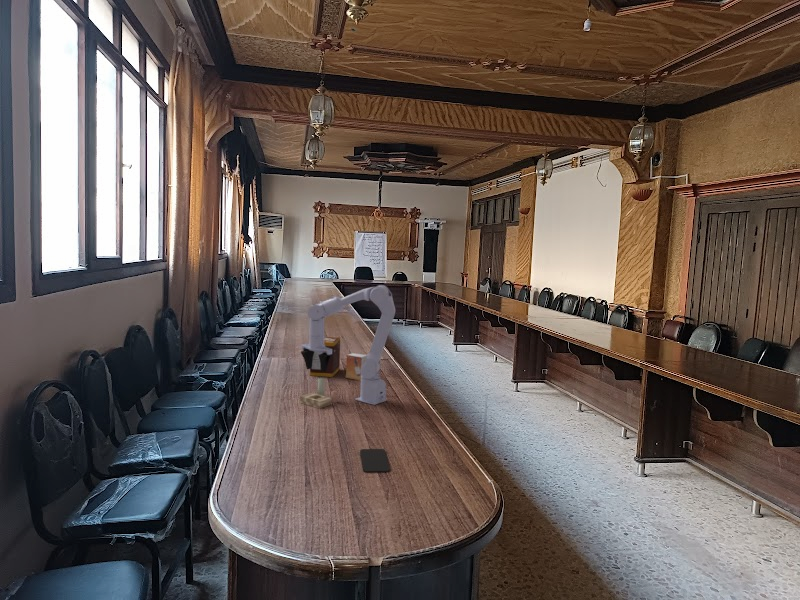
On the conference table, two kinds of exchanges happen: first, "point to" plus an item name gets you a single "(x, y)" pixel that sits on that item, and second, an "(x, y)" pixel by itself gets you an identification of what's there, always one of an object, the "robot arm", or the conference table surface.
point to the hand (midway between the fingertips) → (316, 370)
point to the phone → (374, 460)
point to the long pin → (321, 386)
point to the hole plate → (315, 400)
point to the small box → (354, 365)
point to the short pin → (334, 396)
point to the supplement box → (333, 362)
